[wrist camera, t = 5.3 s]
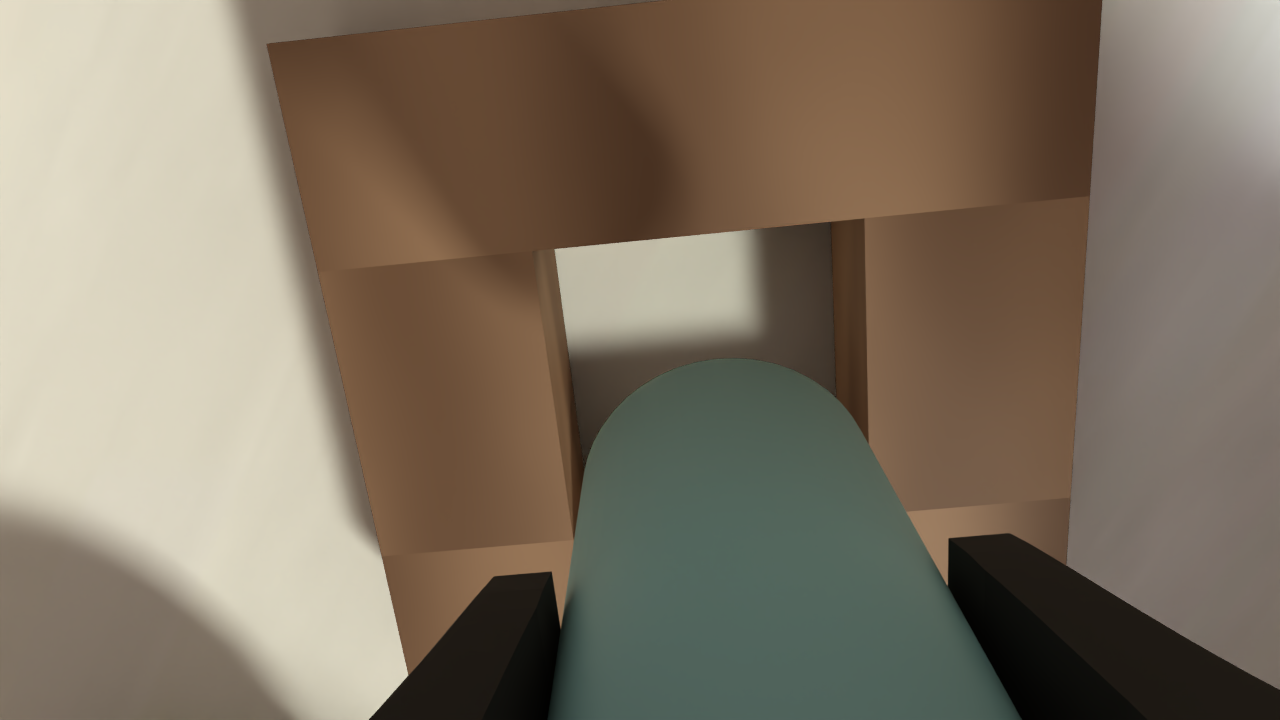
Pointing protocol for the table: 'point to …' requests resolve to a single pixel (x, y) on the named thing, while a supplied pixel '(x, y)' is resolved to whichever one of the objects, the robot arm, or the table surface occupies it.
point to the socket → (692, 205)
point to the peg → (755, 567)
